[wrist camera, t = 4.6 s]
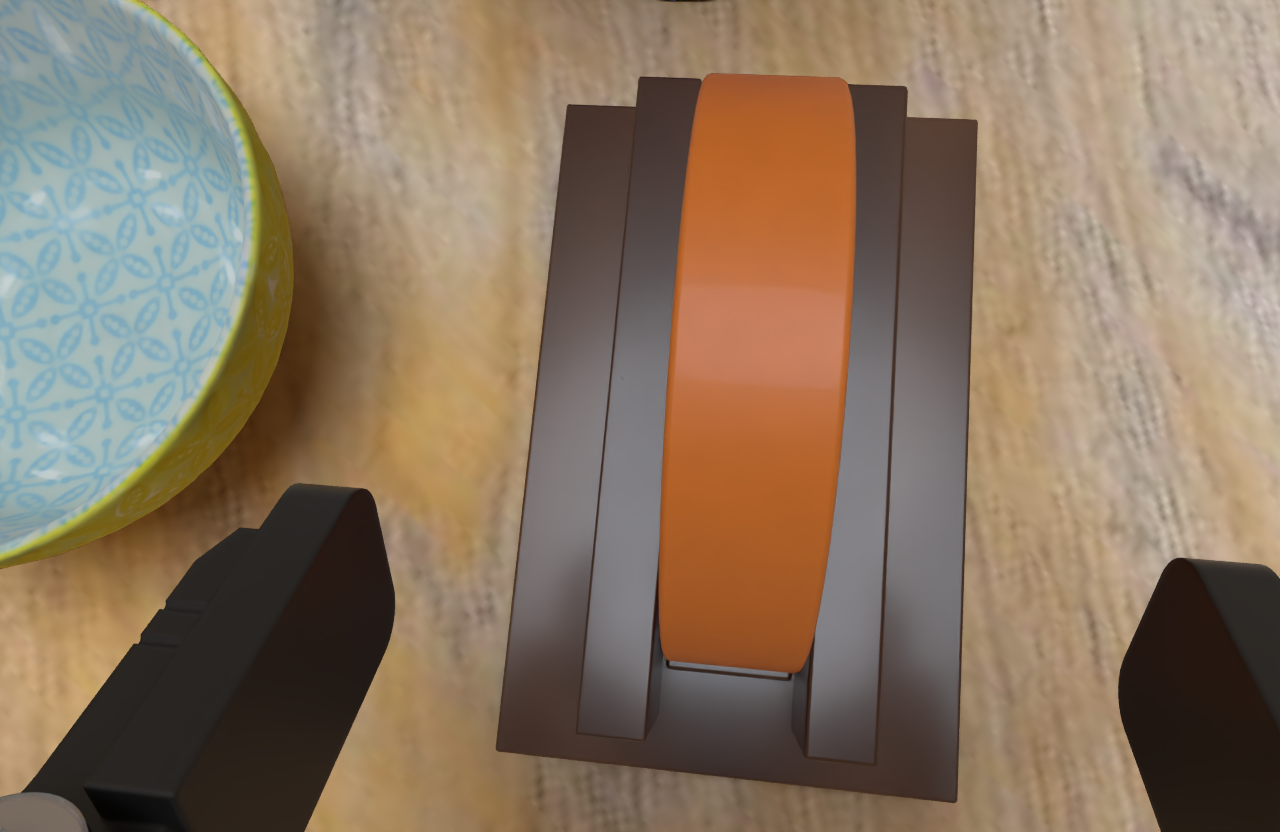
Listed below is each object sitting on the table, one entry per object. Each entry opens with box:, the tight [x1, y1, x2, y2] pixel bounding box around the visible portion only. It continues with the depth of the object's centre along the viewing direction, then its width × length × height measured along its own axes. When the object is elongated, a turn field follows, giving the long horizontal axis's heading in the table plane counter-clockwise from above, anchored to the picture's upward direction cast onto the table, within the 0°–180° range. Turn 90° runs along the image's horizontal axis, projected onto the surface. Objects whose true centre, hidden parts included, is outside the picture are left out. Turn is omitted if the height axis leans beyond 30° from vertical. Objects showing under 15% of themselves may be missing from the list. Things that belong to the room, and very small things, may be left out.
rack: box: [496, 77, 978, 803], centre depth 18 cm, size 9×14×4 cm, turn 175°
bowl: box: [0, 0, 294, 569], centre depth 19 cm, size 11×12×6 cm
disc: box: [659, 73, 856, 673], centre depth 15 cm, size 2×9×9 cm, turn 175°
